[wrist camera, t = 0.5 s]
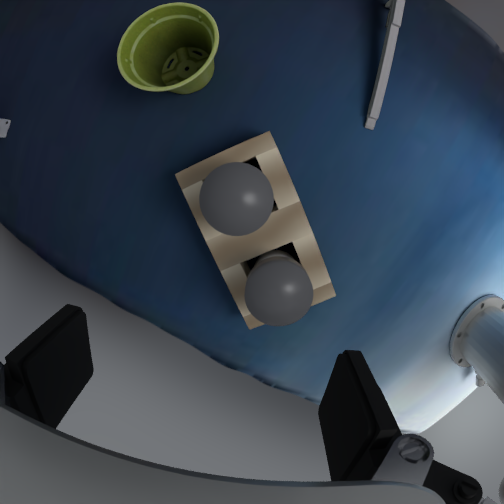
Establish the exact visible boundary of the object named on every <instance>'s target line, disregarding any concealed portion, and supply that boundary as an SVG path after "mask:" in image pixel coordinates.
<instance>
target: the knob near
mask: <svg viewBox="0 0 504 504" xmlns="http://www.w3.org/2000/svg"><path fill="white" fill-rule="evenodd" d="M199 204H200V209H201V212H202V214H203V216H204V218H205V220H206V221H207V222H208V223H209V224H210V226H212V227H213V228H214V229H215V230H217V231H219V232H221V233H223V234H226V235H230V236H243V235H247V234H250V233H253V232H255V231H256V230H258V229H259V228H260V227H262V226H263V225H264V224H265V222H266V221H267V220H268V218H269V216H270V214H271V212H272V209H273V204H274V195H273V189H272V187H271V184H270V182H269V180H268V179H267V177H266V176H265V175H264V174H263V172H261V171H260V170H259V169H257V168H256V167H254V166H252V165H250V164H247V163H242V162H231V163H226V164H223V165H221V166H219V167H217V168H215V169H214V170H213V171H212V172H211V173H209V175H208V176H207V177H206V178H205V180H204V182H203V184H202V186H201V189H200V194H199Z"/></svg>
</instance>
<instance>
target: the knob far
mask: <svg viewBox="0 0 504 504" xmlns="http://www.w3.org/2000/svg"><path fill="white" fill-rule="evenodd" d="M244 297H245V303H246V306H247V308H248V310H249V312H250V313H251V314H252V315H253V316H254V317H255V318H256V319H257V320H258V321H260V322H262V323H264V324H267V325H271V326H285V325H289V324H292V323H294V322H296V321H298V320H299V319H301V318H302V317H303V316H304V315H305V314H306V313H307V312H308V310H309V308H310V306H311V304H312V301H313V286H312V283H311V281H310V278H309V276H308V274H307V272H306V270H305V269H304V267H303V266H302V265H301V264H300V263H298V262H297V261H296V260H295V259H294V258H293V257H292V256H291V255H290V254H289V253H287V252H285V251H281V250H272V251H268V252H266V253H264V254H262V255H261V256H260V257H259V258H258V259H257V261H256V263H255V265H254V267H253V268H252V270H251V271H250V273H249V275H248V277H247V280H246V286H245V295H244Z"/></svg>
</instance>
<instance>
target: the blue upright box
mask: <svg viewBox="0 0 504 504" xmlns="http://www.w3.org/2000/svg"><path fill="white" fill-rule="evenodd" d="M10 122H11V120H7V119H3V118H0V137H6V135H7V131H8V129H9V126H10Z"/></svg>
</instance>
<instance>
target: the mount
mask: <svg viewBox="0 0 504 504" xmlns="http://www.w3.org/2000/svg"><path fill="white" fill-rule="evenodd" d="M255 158H256V159H257V161H258V163H259V165H260V167H261V170H262V172H263V174H264V175H265V176H266V177H267V179H268V180H269V182H270V184H271V187H272V189H273V195H274V200H275V202H276V204H277V205H276V206H273V209H272V212H271V214H270V216H269V218H268V220H267V221H266V222H265V224H264V225H263V226H262V227H260V228H259V229H258V230H256V231H255V232H253V233H250V234H247V235H243V236H230V235H226V234H223V233H221V232H219V231H217V230H215V229H214V228H213V227H212V226H210V224H209V223H208V222H207V221H206V220H205V218H204V216H203V214H202V212H201V209H200V204H199V194H200V189H201V186H202V184H203V182H204V180H205V178H206V177H207V176H208V175H209V173H211V172H212V171H213V170H214V169H215V168H217V167H219V166H221V165H223V164H226V163H231V162H242V163H245V162H248V161H250V160H252V159H255ZM175 176H176V178H177V180H178V183H179V185H180V187H181V189H182V191H183V194H184V196H185V198H186V200H187V202H188V204H189V207H190V209H191V211H192V213H193V215H194V217H195V219H196V222H197V224H198V226H199V228H200V230H201V232H202V234H203V236H204V239H205V241H206V243H207V245H208V247H209V249H210V251H211V253H212V255H213V257H214V259H215V261H216V264H217V266H218V268H219V270H220V272H221V274H222V276H223V278H224V280H225V282H226V284H227V286H228V288H229V290H230V292H231V294H232V296H233V298H234V300H235V302H236V304H237V306H238V308H239V310H240V312H241V314H242V316H243V318H244V320H245V322H246V324H247V326H248V328H249V330H250V329H252V328H255V327H258V326H261V325H263V324H264V323H262V322H260V321H258V320H257V319H256V318H255V317H254V316H253V315H252V314H251V313H250V312H249V310H248V308H247V306H246V303H245V297H244V295H245V286H246V280H247V277H248V275H249V273H250V271H251V270H250V268H249V266H248V263H247V261H246V260H249V259H251V258H254V257H256V256H259V255H261V254H263V253H266V252H268V251H271V250H273V249H276V248H278V247H280V246H283V245H285V244H288V243H290V242H293V245H294V247H295V250H296V252H297V254H298V257H299V259H300V262H301V264H302V266H303V267H304V269H305V270H306V272H307V274H308V276H309V278H310V281H311V283H312V286H313V301H312V304H311V306H313V305H315V304H318V303H320V302H323V301H325V300H327V299H330V298H332V297H335V296H336V294H335V291H334V288H333V285H332V283H331V280H330V277H329V274H328V272H327V269H326V266H325V263H324V261H323V258H322V255H321V253H320V250H319V248H318V245H317V242H316V240H315V237H314V235H313V232H312V230H311V227H310V224H309V222H308V219H307V217H306V214H305V212H304V210H303V207H302V205H301V202H300V200H299V197H298V195H297V193H296V190H295V188H294V185H293V183H292V181H291V178H290V176H289V174H288V171H287V169H286V167H285V164H284V162H283V160H282V158H281V155H280V153H279V151H278V149H277V146H276V144H275V142H274V140H273V137H272V135H271V133H270V131H269V132H266V133H264V134H261V135H259V136H257V137H254V138H252V139H249V140H247V141H245V142H243V143H240V144H238V145H236V146H233V147H231V148H229V149H227V150H225V151H222V152H220V153H218V154H216V155H214V156H211V157H209V158H207V159H205V160H203V161H201V162H199V163H197V164H195V165H193V166H191V167H189V168H187V169H185V170H183V171H181V172H179V173H177V174H175Z"/></svg>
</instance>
